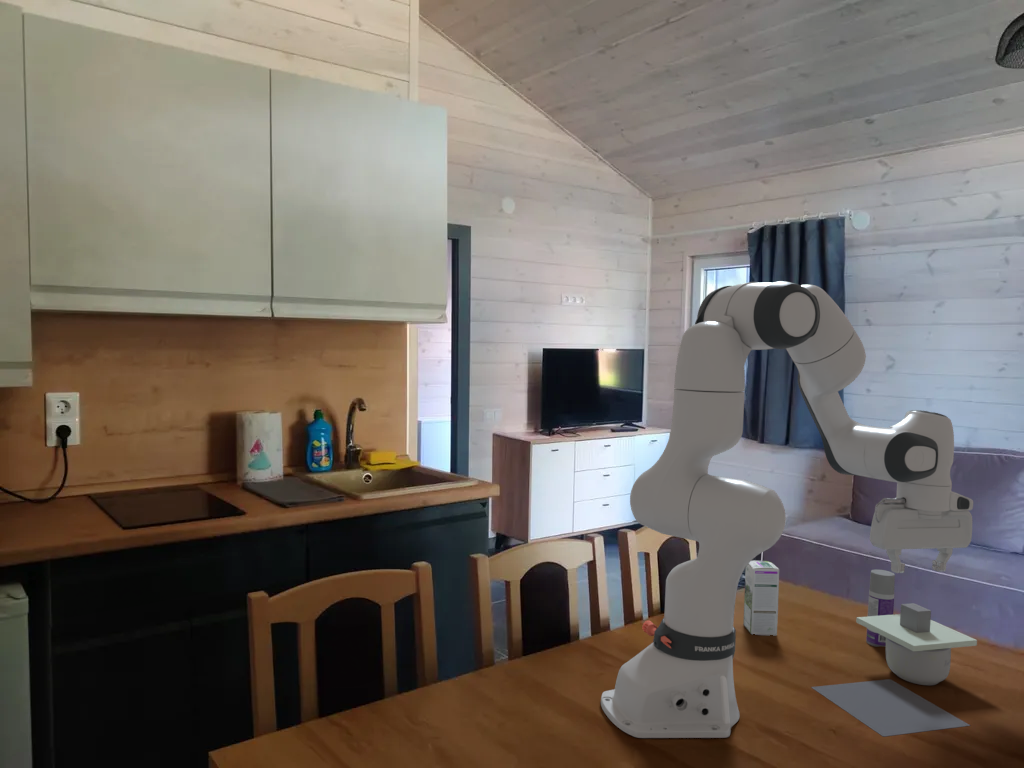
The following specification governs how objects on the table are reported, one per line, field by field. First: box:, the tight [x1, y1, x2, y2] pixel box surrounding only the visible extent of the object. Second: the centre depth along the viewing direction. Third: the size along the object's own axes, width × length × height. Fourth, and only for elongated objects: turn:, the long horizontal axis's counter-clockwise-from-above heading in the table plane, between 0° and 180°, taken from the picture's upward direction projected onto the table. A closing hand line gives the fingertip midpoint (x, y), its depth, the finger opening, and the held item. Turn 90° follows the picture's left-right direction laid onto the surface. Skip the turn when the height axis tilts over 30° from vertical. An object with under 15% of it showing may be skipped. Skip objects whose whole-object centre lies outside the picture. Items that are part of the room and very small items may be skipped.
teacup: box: [885, 638, 952, 686], centre depth 137 cm, size 14×11×8 cm
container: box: [865, 569, 896, 647], centre depth 152 cm, size 5×5×15 cm
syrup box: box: [742, 560, 780, 637], centre depth 157 cm, size 6×6×14 cm
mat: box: [811, 678, 971, 737], centre depth 124 cm, size 17×17×1 cm
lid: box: [855, 603, 978, 651], centre depth 137 cm, size 14×14×5 cm
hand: (918, 571), depth 136 cm, fingers open, 8 cm apart
